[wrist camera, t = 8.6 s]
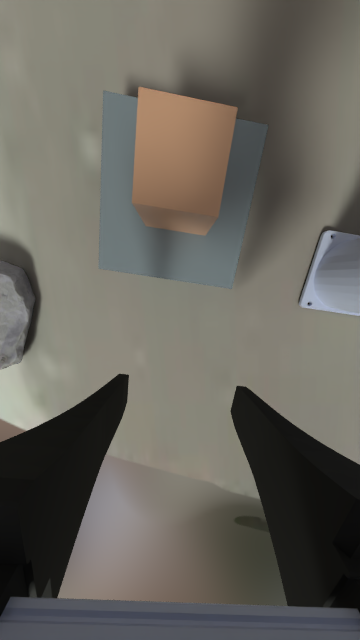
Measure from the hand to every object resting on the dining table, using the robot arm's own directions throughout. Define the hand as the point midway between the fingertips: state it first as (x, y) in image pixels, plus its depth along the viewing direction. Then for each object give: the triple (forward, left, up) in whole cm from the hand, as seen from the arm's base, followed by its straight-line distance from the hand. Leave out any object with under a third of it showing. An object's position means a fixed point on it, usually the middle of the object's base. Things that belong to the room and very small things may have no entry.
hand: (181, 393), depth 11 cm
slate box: (+2, -13, -10) cm, 16 cm away
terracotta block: (+2, -14, -6) cm, 15 cm away
